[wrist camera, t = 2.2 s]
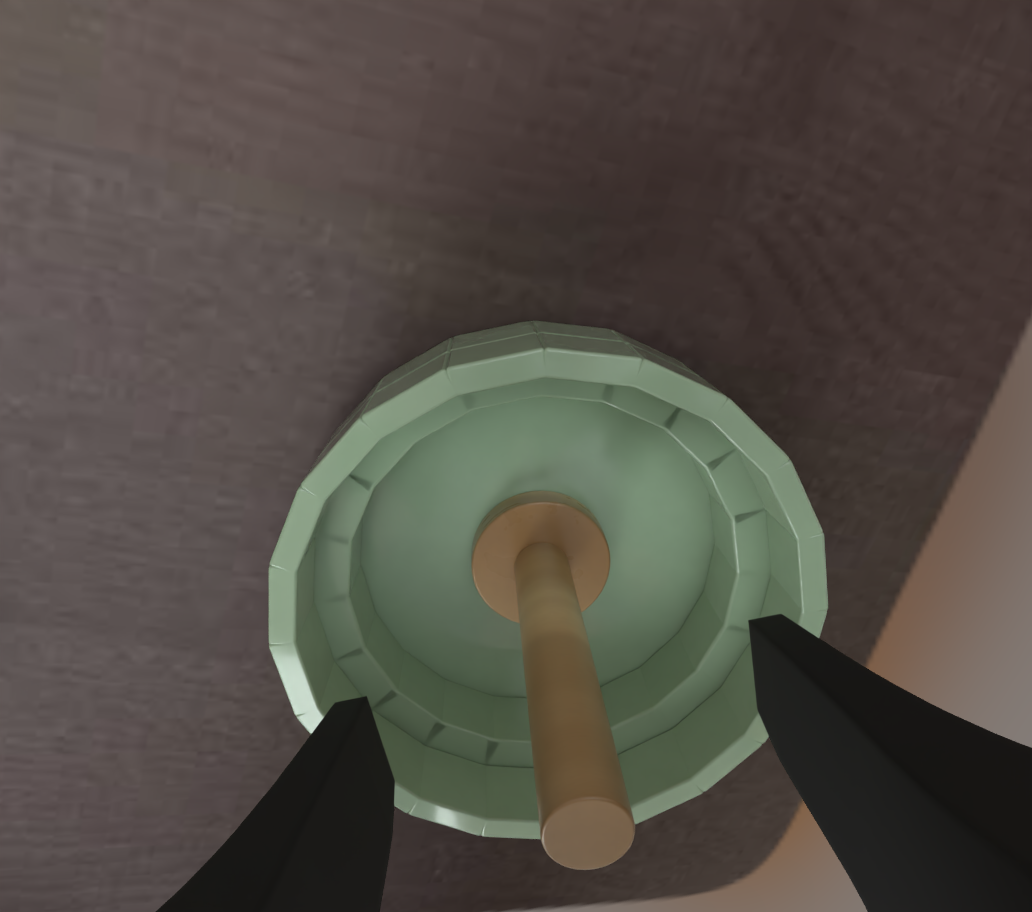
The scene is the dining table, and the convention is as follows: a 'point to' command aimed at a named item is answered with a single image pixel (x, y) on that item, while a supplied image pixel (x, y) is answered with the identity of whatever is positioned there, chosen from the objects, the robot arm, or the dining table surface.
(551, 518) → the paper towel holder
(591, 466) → the shallow round dish
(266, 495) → the dining table surface
